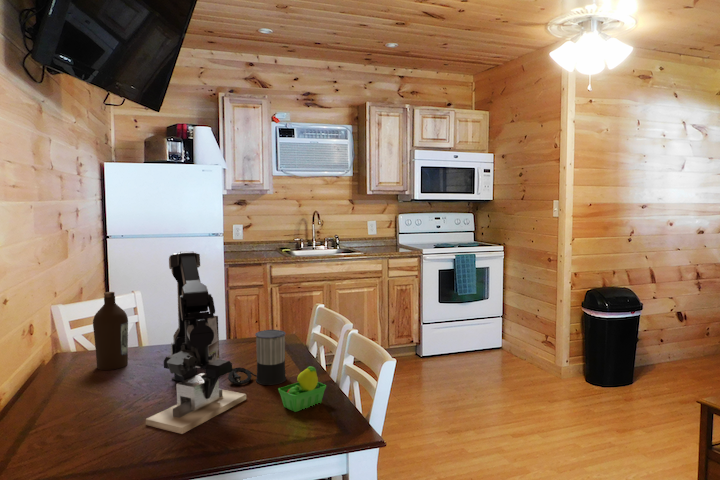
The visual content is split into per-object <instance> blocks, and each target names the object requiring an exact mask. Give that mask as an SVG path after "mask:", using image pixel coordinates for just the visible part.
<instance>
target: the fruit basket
mask: <svg viewBox="0 0 720 480" xmlns="http://www.w3.org/2000/svg"><path fill="white" fill-rule="evenodd" d="M296 381H297V382H295V383H292V384H288V385H285V386H282V387H278V388H277V390H278V393H279V395H280V398H281V402H282V404H283V408H286V409H288V410H289V411H292V412H294V413H296V412H299V411H302V409H303V410H306V409H308V408H311V407H310V406H312V407H314V406H316V405H315V404H317V405H319V404H318V403H320V404H322V400H323V397H324V393H325V391H326V388H327V385H326V384H324V383H323V382H319V378H318V374H317V369H316V367H314V366H311V365H310V366H307V368H305V369H304V370H303V371H301V372H300V373H299V374H298V375H297V379H296ZM313 405H314V406H313ZM305 408H306V409H305Z"/></svg>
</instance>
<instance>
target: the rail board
mask: <svg viewBox="0 0 720 480" xmlns="http://www.w3.org/2000/svg"><path fill="white" fill-rule="evenodd" d="M246 400H247V394H246V393H242V392H237V391H233V390H227V389H223V388H220V387H219V399H217V400H215V401H213V402H211V403H209V404H207V405H205V406H203V407H201V408H199V409H197V410H191V400H190V401H188V402H186V403H184V404H182V405H179V406H177V404H174V405H172V406H170V407H169V408H167V409H164V410H162V411H160V412H158V413H155V414H153V415H151V416H149V417H146V418H145V426H149V427H152V428H157V429H161V430H164V431H169V432H173V433H177V434H181V435H183V434H185V433H187V432H188V431H190V430H193V429H194V428H196V427H198V426H200V425H202V424H203V423H205V422H207V421H209V420H211V419H213V418H214V417H216V416H218V415H220V414H222V413H224V412H226V411H227V410H230V409H231V408H233V407H235V406H237V405H238V404H240V403H242V402H244V401H246Z"/></svg>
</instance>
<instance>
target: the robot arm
mask: <svg viewBox="0 0 720 480" xmlns="http://www.w3.org/2000/svg"><path fill="white" fill-rule="evenodd" d="M168 257H169V258H168V267H169V270H171V274H172V276H173V278H174V280H175V281H176V282H177V283H176V285H177V289H176V290H177V320H178V322H177V323H178V327H177V329H176V330H175V332H174V334H173V338H172V339H173V342H171V343H170V344H171V345H170V355H168V356H165V358H164V360H163V369H168V370H169V372H170V374H172V375H173V376H174V377H171V378H170V379H171V381H177V382H182V381H184V380H186V379H189V378H191V377H194V376H196V375H198V374H199V373H198V369H200V370H204V371H205V373H203V374H204V375H202V376H201V378H202V379H203V380H204V384H205V396H206V399H209V398H210V396H211V394H212V392H213V389H214V387H215V385H216V382H217V380H218V379H220V378H221V377H222V376H225V375H226V374H227V375H228V374H229V372H232V369H233V363H232V362H231V361H230V360H226V359H221V358H219V360H216V361H214V362H211V363H210V362H209V360H211V359H212V355H209V350H208V345H210V344H212V341H213V339H214V332H213V330H212V328H211V327H210V326H209V324H208V318H214V316H215V314H216V307H215V301H214V297H213V296H212V294H211V293H210V292H209V289H208V286H207V285H205V283H203V282H202V281H201V278H200V274H199V270H198V268H200V267H201V258H200V257H201V256H200V253H198V252H196V251H187V250H186V251H180V252H177V253H172V254H170V255H169V256H168Z"/></svg>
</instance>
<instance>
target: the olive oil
mask: <svg viewBox="0 0 720 480" xmlns="http://www.w3.org/2000/svg"><path fill="white" fill-rule="evenodd" d="M115 294H116V293H115V291H106V292H104V293H103V303H104V304H103V305H102V307H100V309H99V310H97V312H95V315H94V317H93V320H92V327H93V329H92V330H93V338H94V346H95V347H94V348H95V356H96V357H95V358H96V368H97V370H101V371H111V370H112V371H113V370H118V369H122V368H124V367H127V366H128V364H129V361H128V360H129V359H128V357H129V356H128V355H129V351H128V350H129V349H128V347H129V345H128V344H129V343H128V342H129V340H128V339H129V318H128V315H127V313H126V312H125V310H123V308H121V307H120V306H119V305H118V304H117V303H116V296H115Z"/></svg>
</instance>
